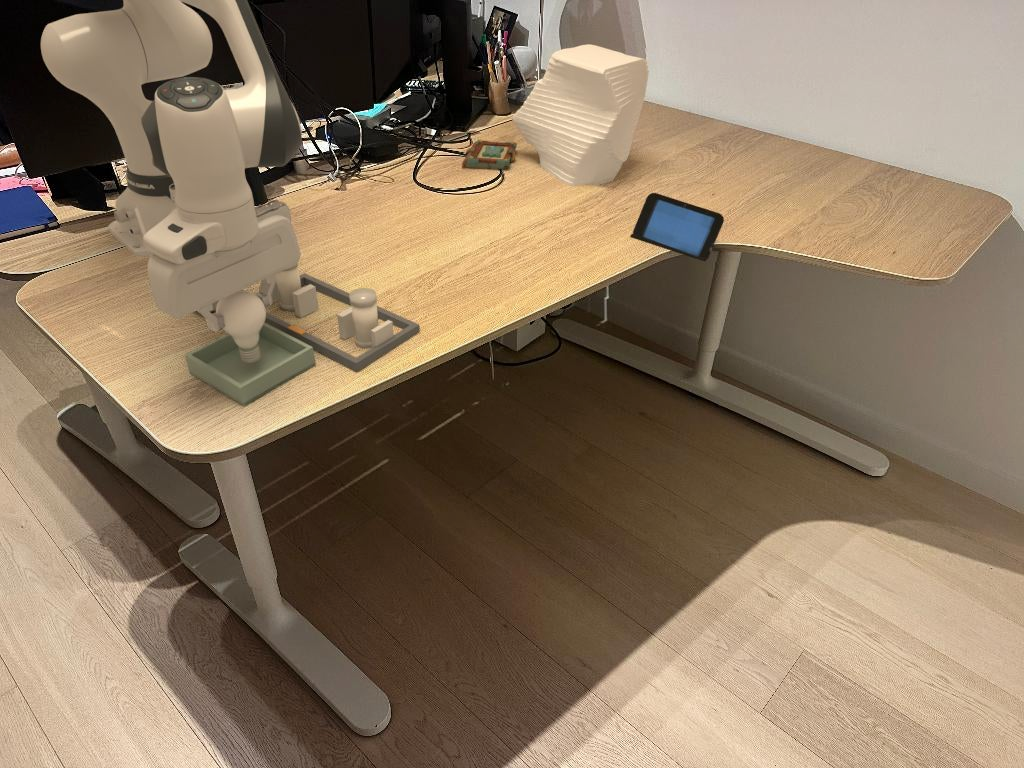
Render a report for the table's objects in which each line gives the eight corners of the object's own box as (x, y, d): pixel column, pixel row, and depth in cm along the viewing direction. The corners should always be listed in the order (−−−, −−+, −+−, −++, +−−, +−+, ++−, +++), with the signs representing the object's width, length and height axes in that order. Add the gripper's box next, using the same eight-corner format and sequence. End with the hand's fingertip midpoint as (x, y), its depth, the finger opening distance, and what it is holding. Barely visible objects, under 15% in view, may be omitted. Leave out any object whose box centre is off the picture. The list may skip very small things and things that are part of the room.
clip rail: (241, 312, 118) (236, 289, 115) (305, 281, 126) (302, 259, 124) (357, 372, 105) (354, 348, 103) (419, 333, 114) (418, 310, 111)
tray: (189, 372, 104) (184, 355, 103) (261, 335, 112) (257, 318, 111) (244, 406, 99) (240, 388, 97) (315, 364, 107) (312, 347, 105)
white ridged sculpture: (578, 203, 155) (588, 73, 139) (508, 163, 173) (510, 43, 157) (655, 184, 164) (672, 60, 149) (581, 147, 182) (589, 33, 167)
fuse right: (349, 342, 111) (343, 295, 107) (368, 331, 114) (363, 285, 109) (367, 351, 110) (362, 304, 105) (386, 340, 112) (381, 293, 107)
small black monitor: (604, 260, 135) (609, 212, 129) (643, 236, 143) (649, 190, 138) (680, 289, 127) (689, 239, 122) (717, 261, 135) (727, 213, 130)
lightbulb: (279, 348, 108) (266, 280, 101) (269, 374, 102) (255, 304, 96) (234, 348, 107) (218, 280, 101) (222, 374, 102) (204, 304, 96)
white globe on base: (275, 306, 119) (266, 260, 115) (293, 296, 122) (285, 251, 117) (291, 313, 118) (283, 267, 113) (310, 303, 120) (302, 258, 115)
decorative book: (456, 183, 163) (455, 161, 160) (471, 155, 177) (471, 134, 174) (516, 188, 162) (517, 165, 159) (527, 159, 176) (528, 138, 173)
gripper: (271, 189, 100) (287, 280, 109) (129, 241, 87) (160, 340, 95) (302, 201, 98) (316, 294, 106) (160, 257, 84) (189, 358, 93)
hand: (241, 316), depth 101 cm, fingers closed on lightbulb, 6 cm apart
